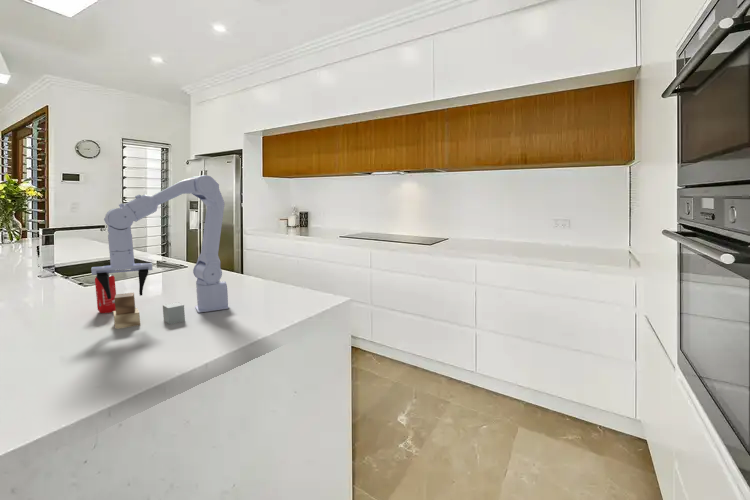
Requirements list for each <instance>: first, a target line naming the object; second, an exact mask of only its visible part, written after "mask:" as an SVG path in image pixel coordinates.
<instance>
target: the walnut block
mask: <svg viewBox="0 0 750 500" xmlns="http://www.w3.org/2000/svg"><path fill="white" fill-rule="evenodd" d="M135 300H136V299H135V292H128V293H116V295H115V309H116V315H120V314H128V313H135V308H136V301H135Z"/></svg>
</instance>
